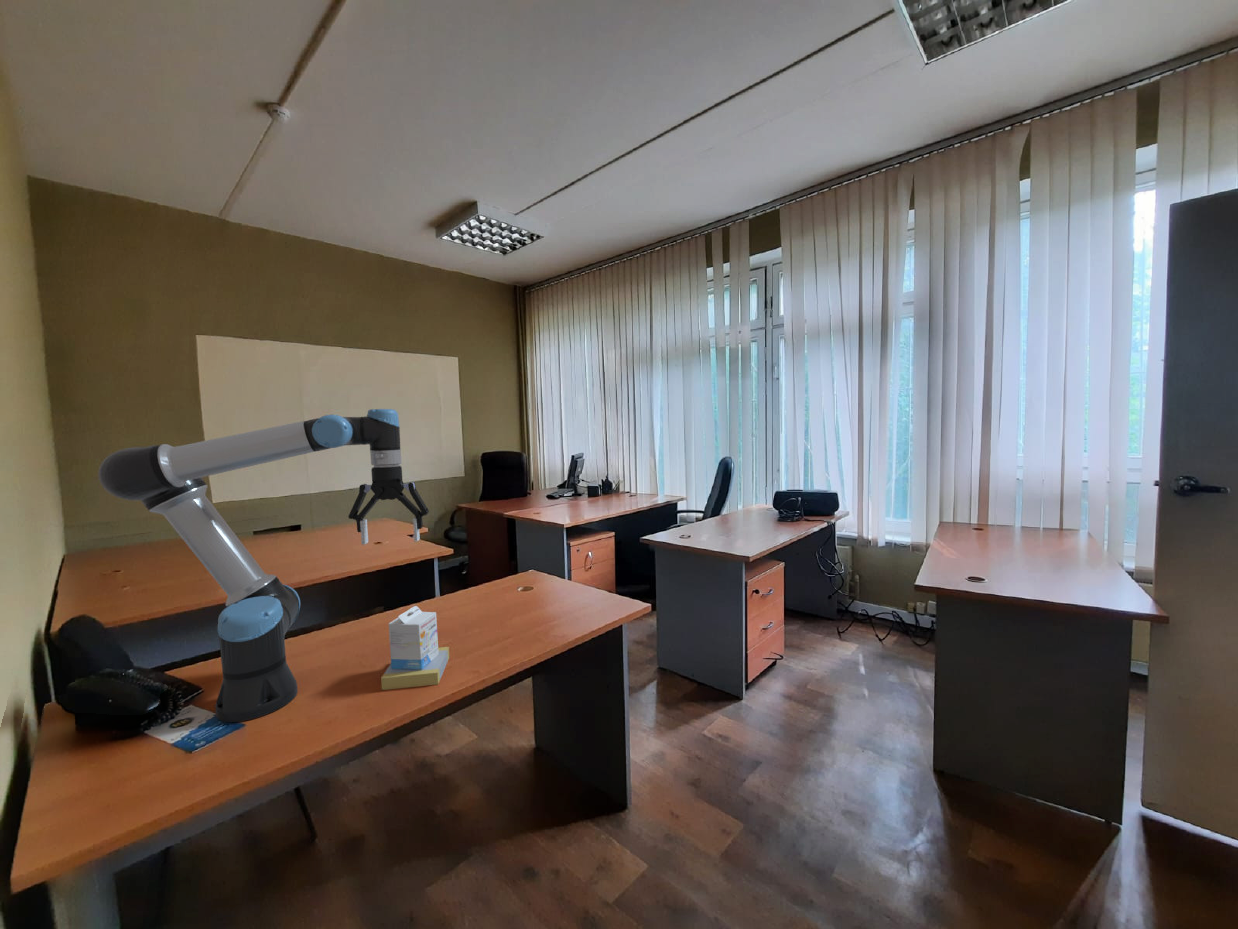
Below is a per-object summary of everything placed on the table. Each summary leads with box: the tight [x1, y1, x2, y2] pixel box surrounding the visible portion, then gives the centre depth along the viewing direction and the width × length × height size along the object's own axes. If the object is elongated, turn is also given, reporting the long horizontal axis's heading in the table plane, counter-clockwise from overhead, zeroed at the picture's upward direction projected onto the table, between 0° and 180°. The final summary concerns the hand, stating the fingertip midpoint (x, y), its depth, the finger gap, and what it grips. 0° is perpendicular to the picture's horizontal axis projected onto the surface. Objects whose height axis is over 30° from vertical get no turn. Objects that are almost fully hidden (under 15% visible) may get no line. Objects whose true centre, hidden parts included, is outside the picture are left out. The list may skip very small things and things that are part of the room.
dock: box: [380, 646, 450, 691], centre depth 122 cm, size 13×14×3 cm
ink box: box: [388, 605, 439, 670], centre depth 121 cm, size 9×8×13 cm
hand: (391, 542), depth 131 cm, fingers open, 13 cm apart
